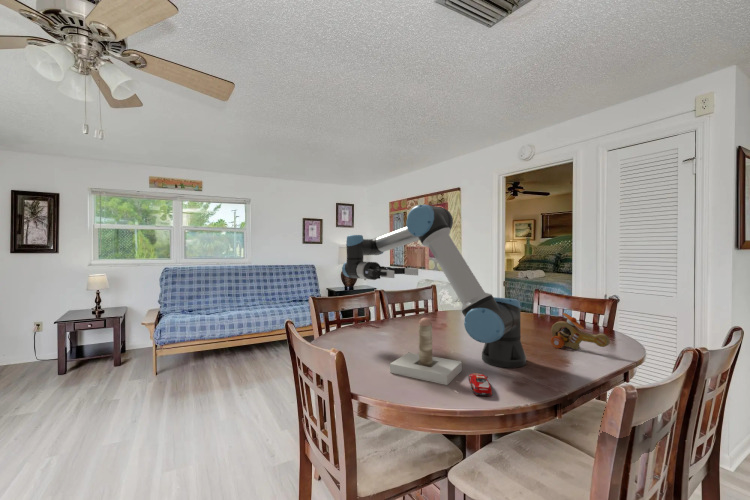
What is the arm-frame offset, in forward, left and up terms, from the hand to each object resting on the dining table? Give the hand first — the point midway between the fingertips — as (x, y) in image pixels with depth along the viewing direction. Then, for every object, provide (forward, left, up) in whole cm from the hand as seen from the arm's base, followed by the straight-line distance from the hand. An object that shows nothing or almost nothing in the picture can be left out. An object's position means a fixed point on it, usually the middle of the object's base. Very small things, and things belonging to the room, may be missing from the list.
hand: (406, 273), depth 130 cm
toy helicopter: (-55, -40, -32) cm, 75 cm away
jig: (-13, +11, -32) cm, 36 cm away
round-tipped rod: (-13, +11, -32) cm, 36 cm away
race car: (-32, +15, -33) cm, 48 cm away
